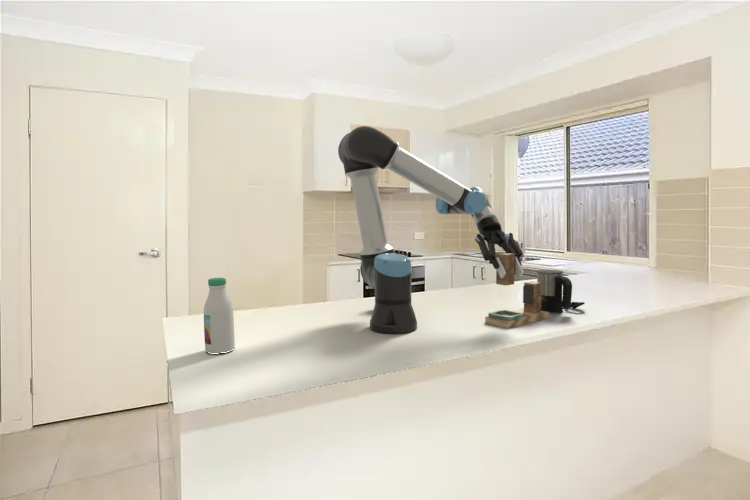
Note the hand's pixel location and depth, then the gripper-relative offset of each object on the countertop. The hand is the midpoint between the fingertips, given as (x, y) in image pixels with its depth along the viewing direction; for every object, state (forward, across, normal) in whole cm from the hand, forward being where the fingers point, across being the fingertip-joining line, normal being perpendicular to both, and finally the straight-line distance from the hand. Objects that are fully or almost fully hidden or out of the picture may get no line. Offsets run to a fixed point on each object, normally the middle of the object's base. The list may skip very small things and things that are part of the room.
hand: (512, 275), depth 146 cm
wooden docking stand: (+8, -6, -16) cm, 18 cm away
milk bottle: (+11, +90, -12) cm, 91 cm away
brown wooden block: (0, 0, -5) cm, 5 cm away
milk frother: (+2, -28, -22) cm, 36 cm away
